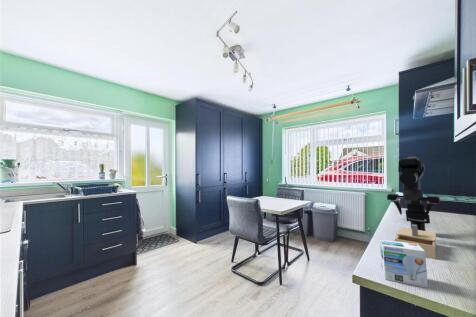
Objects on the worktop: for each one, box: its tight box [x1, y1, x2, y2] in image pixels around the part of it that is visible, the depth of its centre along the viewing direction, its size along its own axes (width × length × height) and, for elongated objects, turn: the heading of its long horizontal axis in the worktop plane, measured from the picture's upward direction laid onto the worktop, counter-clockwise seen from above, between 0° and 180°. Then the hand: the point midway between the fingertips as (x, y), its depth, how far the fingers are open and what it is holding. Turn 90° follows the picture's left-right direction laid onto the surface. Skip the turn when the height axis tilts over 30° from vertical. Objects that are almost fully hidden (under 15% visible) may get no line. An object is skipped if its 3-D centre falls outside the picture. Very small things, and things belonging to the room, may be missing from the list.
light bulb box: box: [379, 239, 429, 289], centre depth 63 cm, size 11×7×11 cm, turn 62°
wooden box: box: [394, 234, 437, 260], centre depth 83 cm, size 12×12×5 cm
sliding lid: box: [396, 224, 437, 241], centre depth 88 cm, size 12×12×5 cm
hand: (413, 216), depth 94 cm, fingers open, 9 cm apart
